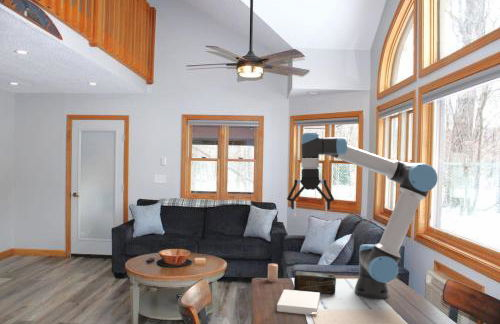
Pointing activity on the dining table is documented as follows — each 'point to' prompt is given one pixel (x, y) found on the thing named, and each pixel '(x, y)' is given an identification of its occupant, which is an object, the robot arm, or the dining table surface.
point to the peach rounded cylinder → (272, 272)
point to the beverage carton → (315, 282)
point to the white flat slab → (298, 302)
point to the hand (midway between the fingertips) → (310, 216)
